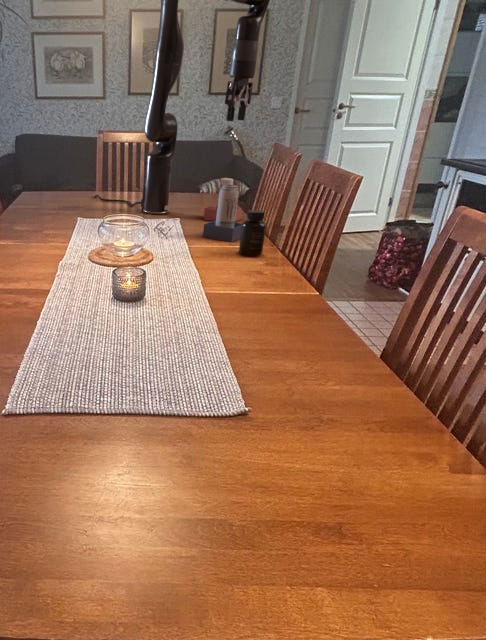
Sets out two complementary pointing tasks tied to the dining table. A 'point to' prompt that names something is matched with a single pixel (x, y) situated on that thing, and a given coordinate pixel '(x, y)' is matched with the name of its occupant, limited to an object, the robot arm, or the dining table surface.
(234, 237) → the slate bin
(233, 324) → the dining table surface
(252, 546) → the dining table surface
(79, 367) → the dining table surface
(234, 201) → the energy drink can
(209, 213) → the rose bin
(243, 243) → the supplement bottle
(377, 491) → the dining table surface
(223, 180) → the sprinkles bottle
